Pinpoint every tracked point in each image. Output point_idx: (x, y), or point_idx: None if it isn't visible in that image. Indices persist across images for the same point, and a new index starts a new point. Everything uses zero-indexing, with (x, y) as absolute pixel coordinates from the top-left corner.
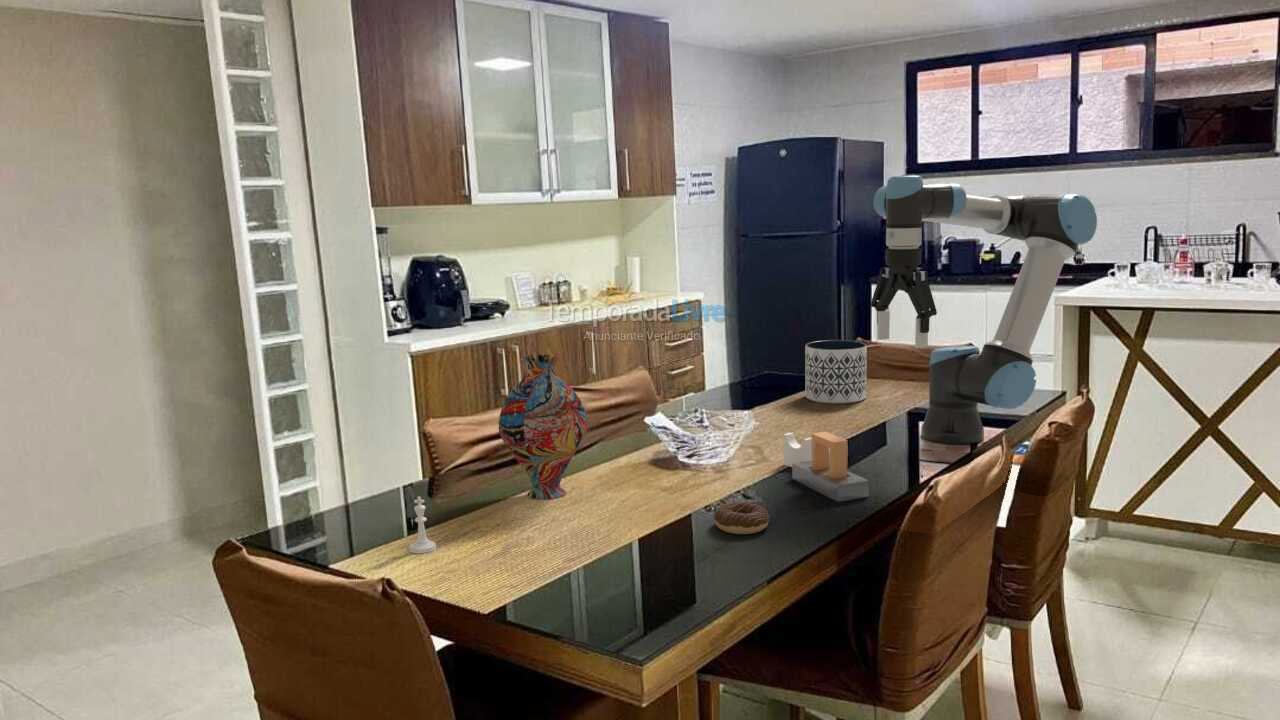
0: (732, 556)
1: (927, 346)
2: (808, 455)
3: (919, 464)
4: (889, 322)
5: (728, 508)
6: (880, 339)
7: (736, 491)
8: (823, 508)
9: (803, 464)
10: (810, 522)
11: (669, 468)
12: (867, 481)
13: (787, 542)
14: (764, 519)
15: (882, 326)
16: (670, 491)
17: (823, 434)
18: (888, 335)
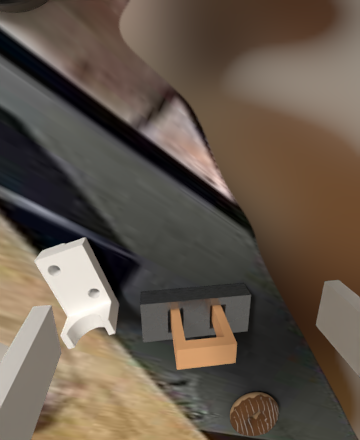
0: (299, 423)
1: (340, 282)
2: (116, 312)
3: (157, 144)
4: (11, 383)
5: (249, 429)
6: (59, 348)
7: (159, 386)
8: (249, 336)
9: (153, 332)
10: (274, 358)
11: (45, 422)
12: (250, 295)
13: (300, 387)
14: (276, 405)
15: (34, 403)
16: (130, 433)
17: (190, 358)
18: (46, 322)
